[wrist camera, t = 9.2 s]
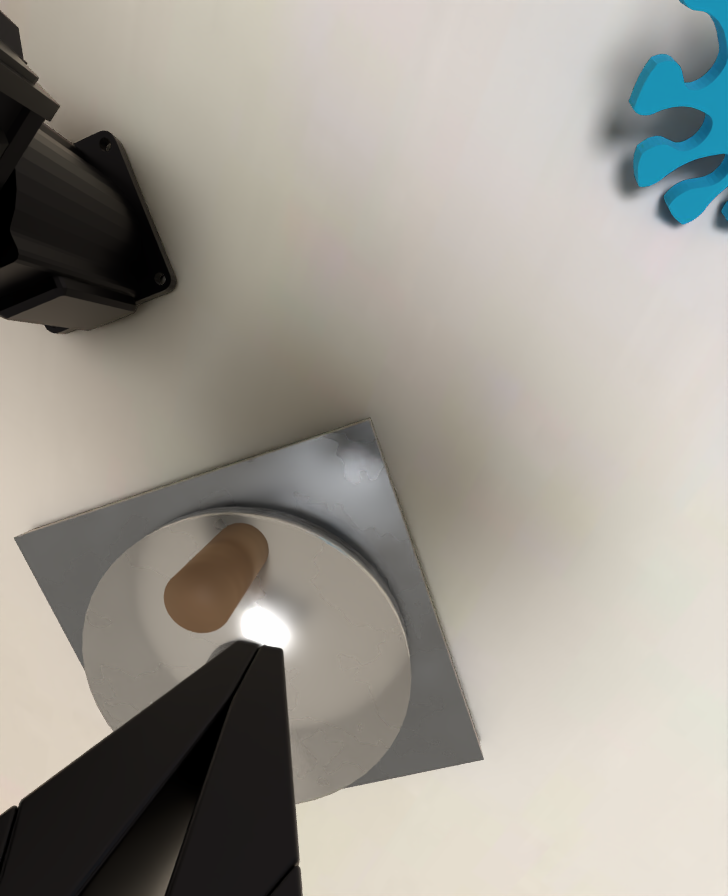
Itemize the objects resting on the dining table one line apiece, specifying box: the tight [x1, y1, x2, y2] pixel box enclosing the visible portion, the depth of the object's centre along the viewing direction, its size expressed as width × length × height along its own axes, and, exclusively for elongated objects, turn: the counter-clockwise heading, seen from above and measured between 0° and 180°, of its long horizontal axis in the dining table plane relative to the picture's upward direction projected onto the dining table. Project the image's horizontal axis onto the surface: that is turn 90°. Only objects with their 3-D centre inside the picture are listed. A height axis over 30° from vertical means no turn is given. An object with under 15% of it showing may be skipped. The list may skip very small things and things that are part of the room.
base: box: [14, 418, 484, 789], centre depth 19 cm, size 19×19×4 cm
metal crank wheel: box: [82, 506, 411, 804], centre depth 17 cm, size 16×18×5 cm
